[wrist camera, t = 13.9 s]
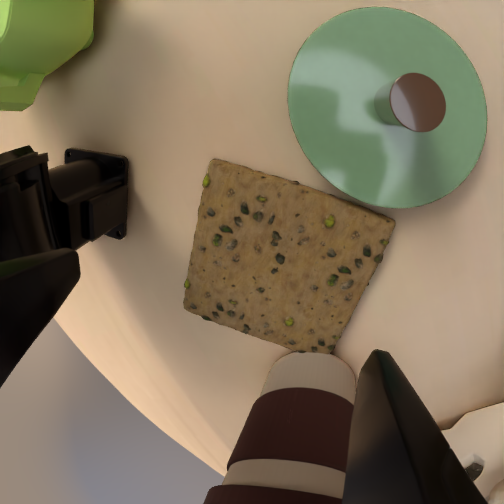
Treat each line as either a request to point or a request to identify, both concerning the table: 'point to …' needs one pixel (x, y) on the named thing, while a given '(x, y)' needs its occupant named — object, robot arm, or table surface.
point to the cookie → (280, 258)
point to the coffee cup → (294, 436)
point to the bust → (497, 494)
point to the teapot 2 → (38, 44)
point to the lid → (387, 107)
